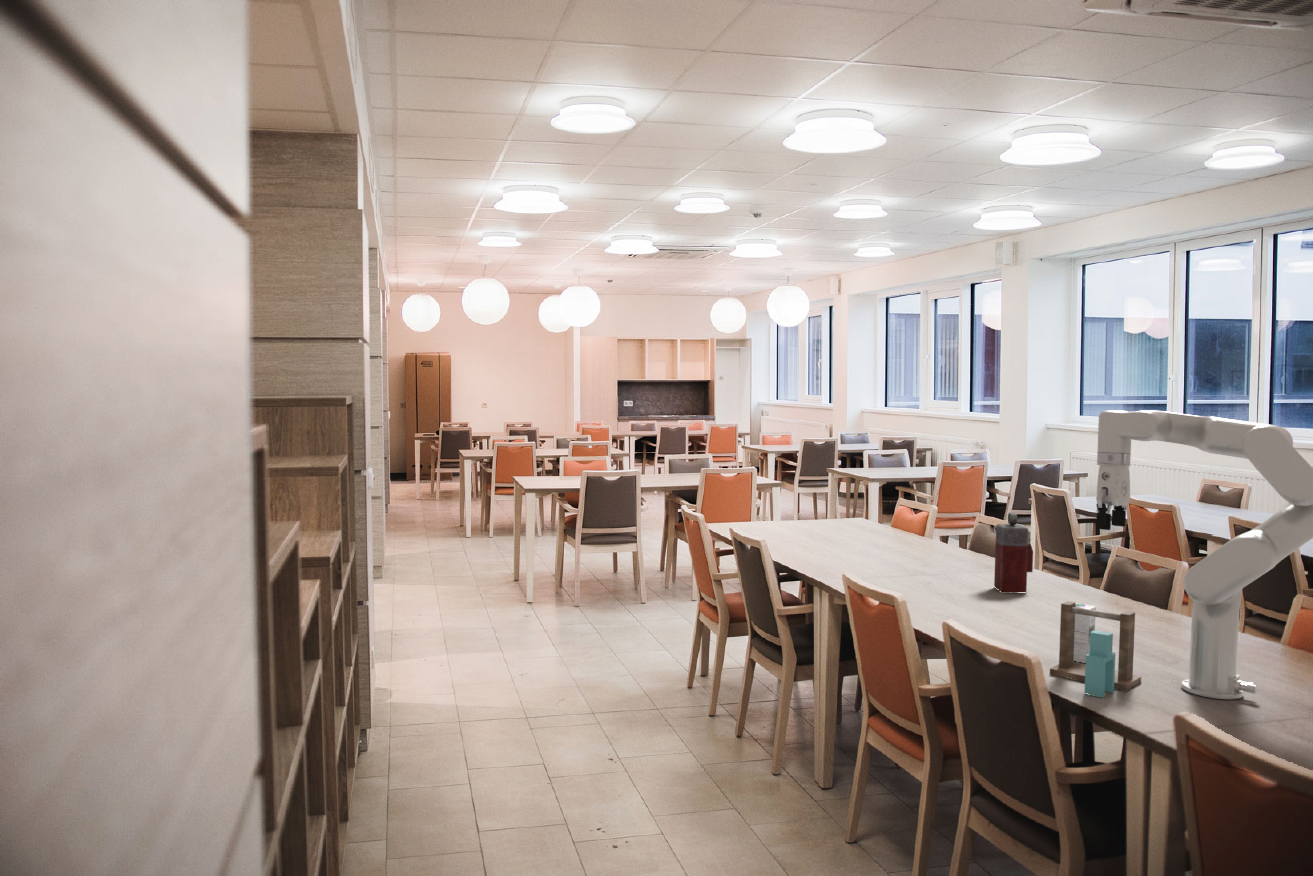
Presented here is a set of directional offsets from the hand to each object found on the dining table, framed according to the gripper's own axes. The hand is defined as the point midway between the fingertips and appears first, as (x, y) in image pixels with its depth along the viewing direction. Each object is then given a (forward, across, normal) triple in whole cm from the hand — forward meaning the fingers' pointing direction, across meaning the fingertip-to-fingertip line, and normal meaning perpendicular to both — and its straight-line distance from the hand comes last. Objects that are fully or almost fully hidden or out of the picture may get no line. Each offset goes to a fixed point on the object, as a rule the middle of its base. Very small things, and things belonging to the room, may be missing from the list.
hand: (1111, 527), depth 236 cm
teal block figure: (+36, -20, -6) cm, 42 cm away
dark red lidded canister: (+37, +78, +61) cm, 105 cm away
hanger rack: (+36, -9, -1) cm, 38 cm away
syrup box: (+37, +5, +8) cm, 38 cm away
